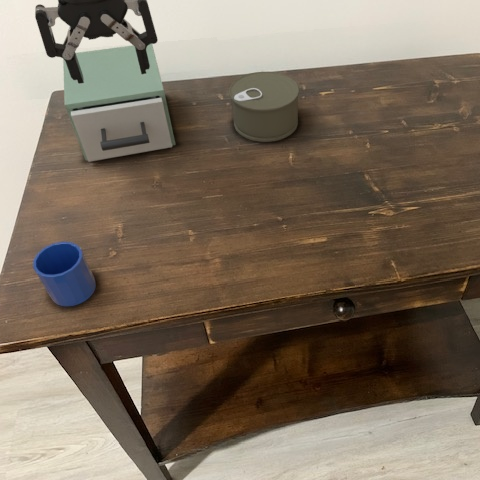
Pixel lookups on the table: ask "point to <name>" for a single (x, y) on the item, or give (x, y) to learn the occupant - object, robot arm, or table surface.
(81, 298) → the cup
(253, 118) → the can
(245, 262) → the table surface
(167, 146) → the drawer
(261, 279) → the table surface
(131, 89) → the mint green cabinet box
